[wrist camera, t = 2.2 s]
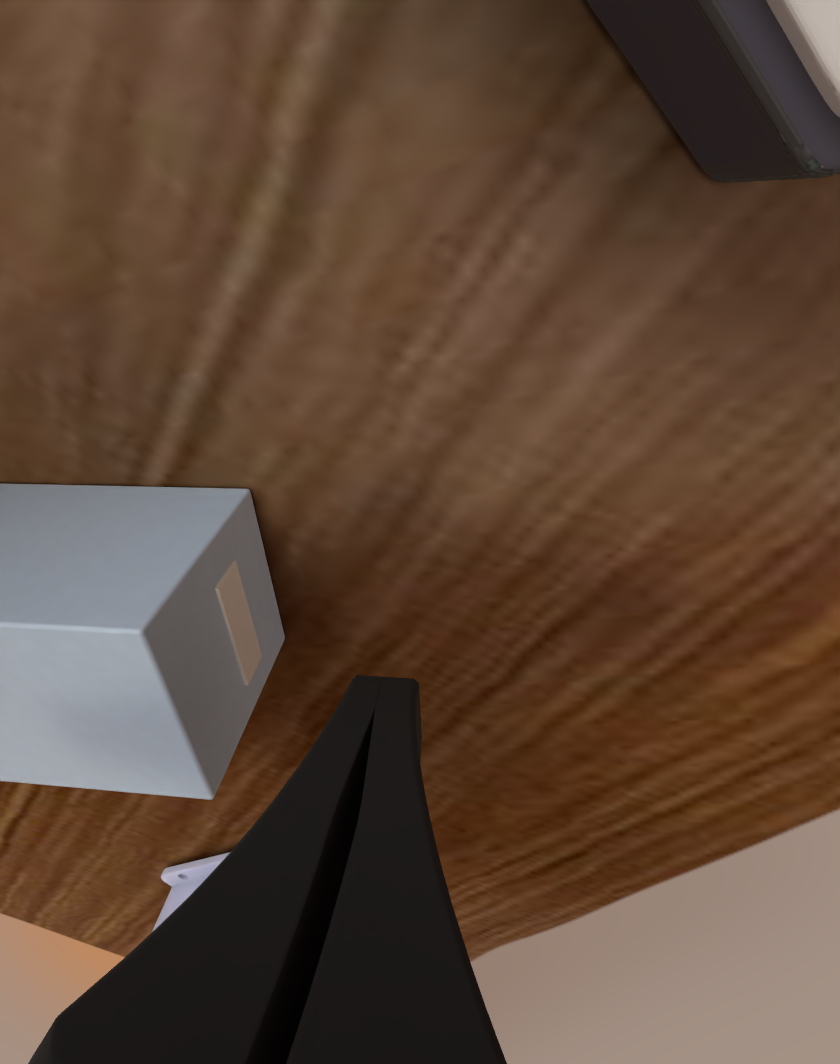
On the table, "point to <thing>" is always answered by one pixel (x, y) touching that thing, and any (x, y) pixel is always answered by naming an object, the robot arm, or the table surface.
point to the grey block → (130, 635)
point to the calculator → (740, 80)
